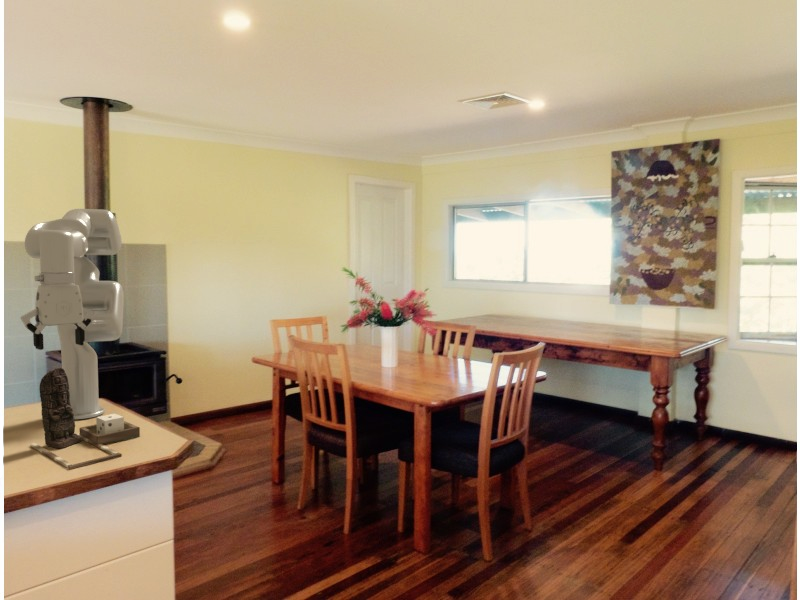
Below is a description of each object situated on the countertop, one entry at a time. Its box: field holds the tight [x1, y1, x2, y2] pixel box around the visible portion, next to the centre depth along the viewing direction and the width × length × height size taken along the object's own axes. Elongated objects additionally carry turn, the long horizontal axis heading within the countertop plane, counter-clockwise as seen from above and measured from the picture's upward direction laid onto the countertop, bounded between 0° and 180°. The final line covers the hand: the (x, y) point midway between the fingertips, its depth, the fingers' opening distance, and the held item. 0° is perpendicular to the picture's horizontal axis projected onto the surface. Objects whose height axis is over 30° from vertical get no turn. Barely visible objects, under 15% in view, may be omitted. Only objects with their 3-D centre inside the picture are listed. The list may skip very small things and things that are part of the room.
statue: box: [39, 367, 83, 449], centre depth 160 cm, size 7×7×20 cm
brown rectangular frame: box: [29, 432, 123, 470], centre depth 155 cm, size 24×12×1 cm, turn 50°
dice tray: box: [79, 420, 141, 446], centre depth 167 cm, size 11×11×2 cm
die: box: [95, 413, 125, 435], centre depth 166 cm, size 5×5×5 cm
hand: (60, 346), depth 158 cm, fingers open, 9 cm apart
